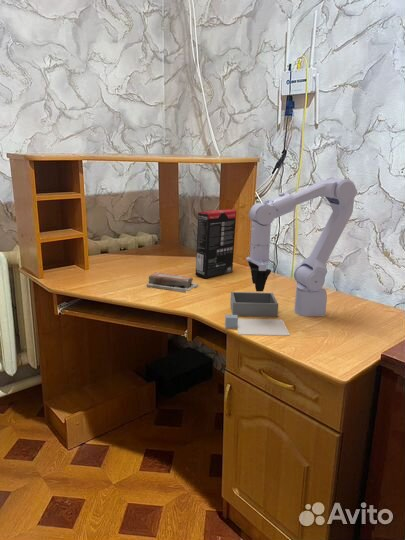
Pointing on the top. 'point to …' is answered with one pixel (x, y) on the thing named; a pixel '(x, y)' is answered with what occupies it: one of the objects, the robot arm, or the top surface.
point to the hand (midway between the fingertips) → (257, 287)
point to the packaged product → (171, 282)
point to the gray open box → (254, 304)
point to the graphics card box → (215, 242)
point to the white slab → (256, 326)
